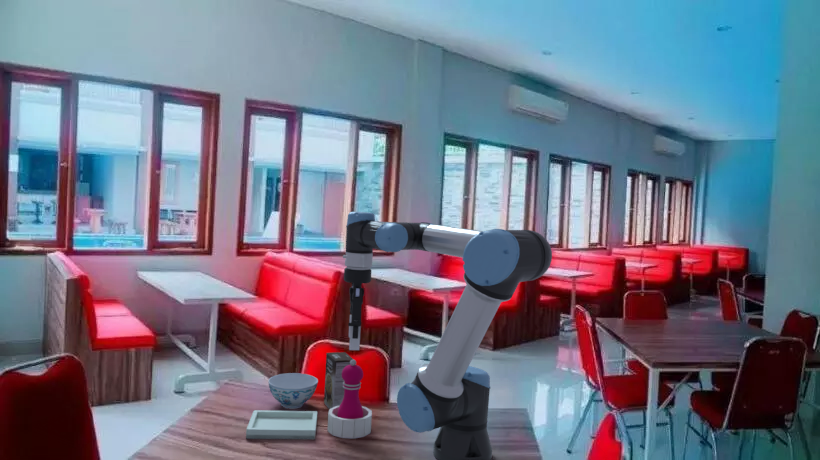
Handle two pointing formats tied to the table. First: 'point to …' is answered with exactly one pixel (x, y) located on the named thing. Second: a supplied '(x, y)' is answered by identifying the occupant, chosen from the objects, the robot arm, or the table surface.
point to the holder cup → (349, 424)
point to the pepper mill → (351, 392)
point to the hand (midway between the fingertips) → (353, 343)
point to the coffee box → (335, 378)
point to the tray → (282, 425)
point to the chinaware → (292, 389)
